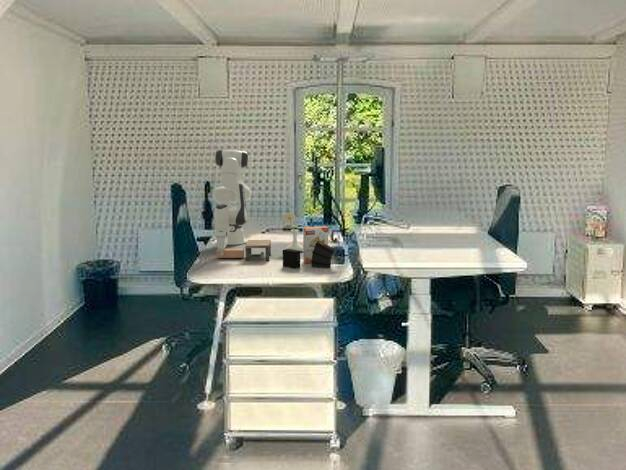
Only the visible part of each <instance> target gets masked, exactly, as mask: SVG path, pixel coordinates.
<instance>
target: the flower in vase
mask: <svg viewBox="0 0 626 470" xmlns="http://www.w3.org/2000/svg"><path fill="white" fill-rule="evenodd" d="M282 219H283V221H284V222H285V223H288V224H287V225H285V226H284V228H285V229H290V228H292V229H290V231H291V233H292V242H291V243H290V244H289V245H288V246H286V248H285V249H293V250H299V251H300V252H302V251H303V244H301V243H299V242H298V237H297V236H298V233H299V231H300V230H299V229H295V228H298V226H299V224H296V225H294V226H292V222H294V221H295V220H296V215H295V213H293V212H289V213H288V212H287V213H286V214H285V215H284V216H283V218H282Z"/></svg>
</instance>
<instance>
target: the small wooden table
mask: <svg viewBox="0 0 626 470" xmlns="http://www.w3.org/2000/svg"><path fill="white" fill-rule="evenodd" d="M271 242H272V241H271V239H248V240H247V243H245V245H244V251H245V262H249V261H255V260H256V261H257V260H260V261H261V260H264V257H265V261H266V262H269V261H270V256H271V255H272V250H271V248H272V247H271V246H272V244H271ZM252 249H265V251H261V252H260V253H252Z"/></svg>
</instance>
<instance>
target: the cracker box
mask: <svg viewBox="0 0 626 470" xmlns="http://www.w3.org/2000/svg"><path fill="white" fill-rule="evenodd" d="M302 230H303V235H302V236H303V237H302V241H303V242H302V243H303V244H302V246H303V252H302V253H303V255H302V256H303V258H302V259H303V263H305V264H312V263H311V261H312V255H313V253H312V252H313V251H314V247H315V244H316V243H317V241H320V242H322V243H324V244H326V245H328V246H329V227H328V226H326V225H325V226H306V227H303V229H302Z"/></svg>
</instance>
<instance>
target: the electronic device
mask: <svg viewBox="0 0 626 470" xmlns="http://www.w3.org/2000/svg"><path fill="white" fill-rule="evenodd" d="M282 267H283V268H288V269H292V270H293V269H294V270H295V269H300V268H301V251H299V250H293V249H286V248H285V249H283V250H282Z"/></svg>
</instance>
